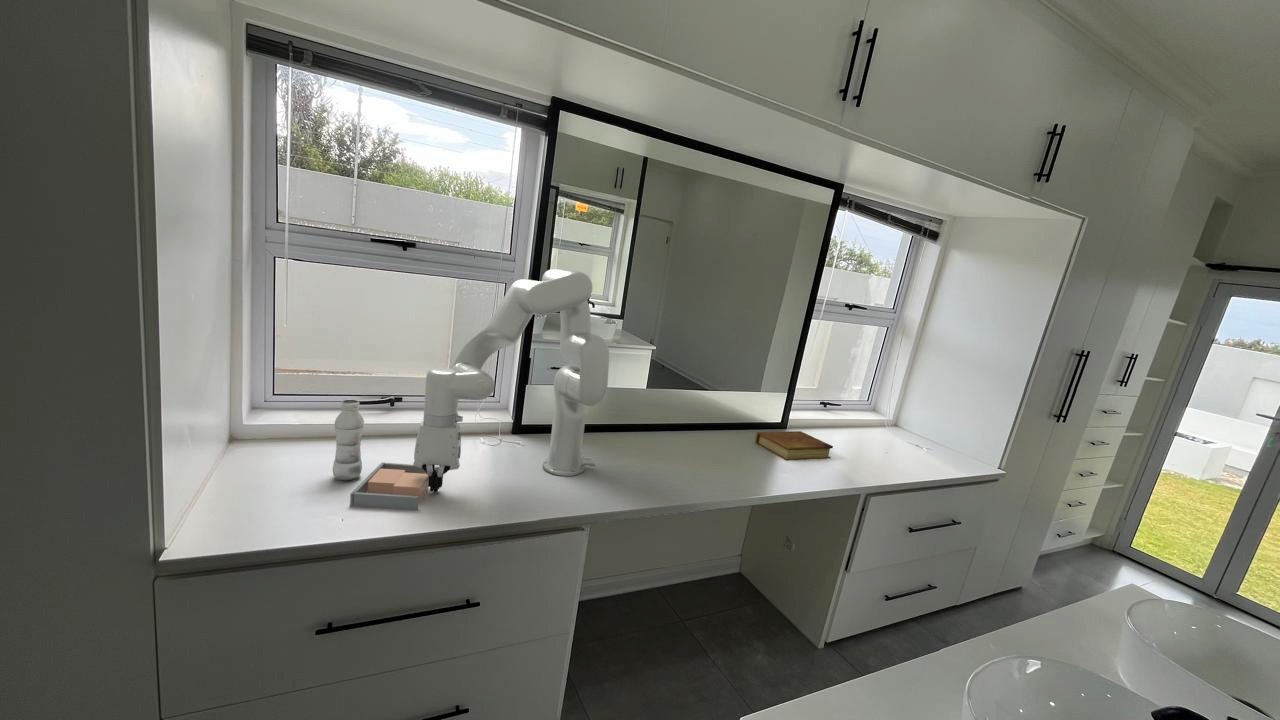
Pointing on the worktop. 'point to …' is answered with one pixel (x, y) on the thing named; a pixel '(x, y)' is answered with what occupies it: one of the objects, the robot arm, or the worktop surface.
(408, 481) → the tile
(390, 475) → the tile
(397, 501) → the organizer bay
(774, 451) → the diary
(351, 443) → the plastic bottle
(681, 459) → the worktop surface
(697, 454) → the worktop surface
